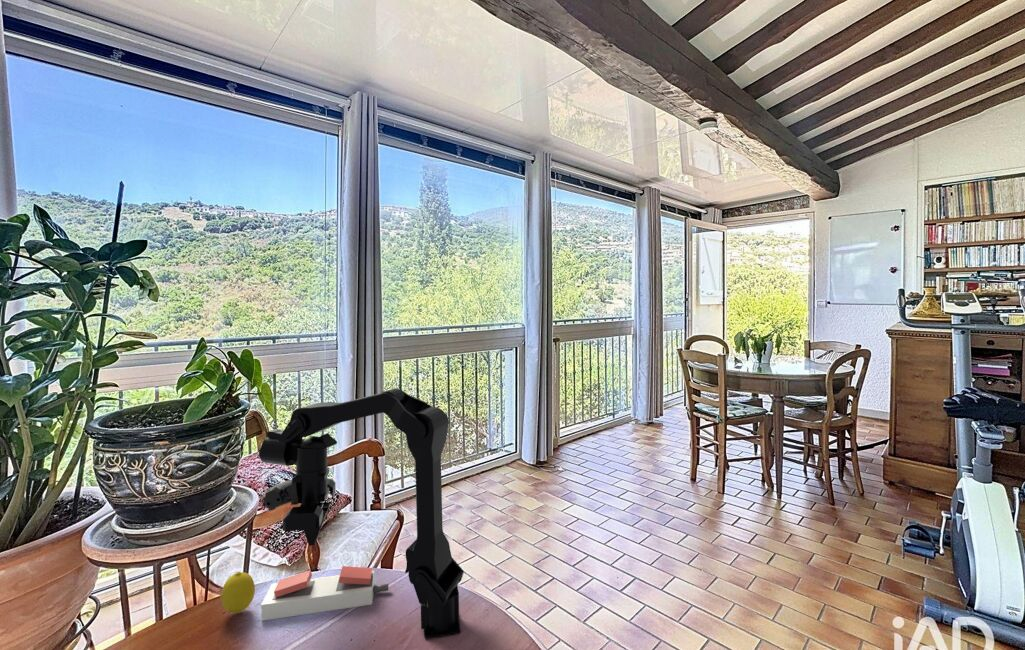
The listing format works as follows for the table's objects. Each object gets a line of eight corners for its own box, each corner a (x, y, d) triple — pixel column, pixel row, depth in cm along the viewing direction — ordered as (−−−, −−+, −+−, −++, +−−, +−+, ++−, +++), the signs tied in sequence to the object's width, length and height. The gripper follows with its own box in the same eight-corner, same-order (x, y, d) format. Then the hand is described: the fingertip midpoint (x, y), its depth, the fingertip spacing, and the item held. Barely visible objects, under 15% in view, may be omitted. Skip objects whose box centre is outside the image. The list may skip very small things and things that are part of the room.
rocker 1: (312, 575, 93) (310, 570, 93) (307, 586, 89) (306, 581, 89) (281, 585, 92) (279, 580, 91) (275, 597, 88) (273, 591, 88)
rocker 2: (371, 573, 95) (372, 568, 95) (369, 584, 92) (370, 578, 92) (341, 571, 94) (342, 566, 94) (338, 582, 90) (339, 576, 90)
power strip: (389, 582, 98) (388, 568, 98) (387, 602, 91) (387, 586, 91) (272, 598, 93) (271, 583, 93) (261, 620, 86) (261, 604, 86)
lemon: (244, 622, 85) (243, 580, 85) (215, 622, 85) (214, 580, 85) (261, 604, 91) (260, 564, 91) (233, 604, 91) (232, 564, 91)
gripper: (281, 455, 98) (281, 527, 99) (251, 487, 80) (251, 575, 80) (335, 452, 101) (335, 522, 101) (318, 483, 82) (318, 568, 83)
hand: (311, 544), depth 91 cm, fingers closed
